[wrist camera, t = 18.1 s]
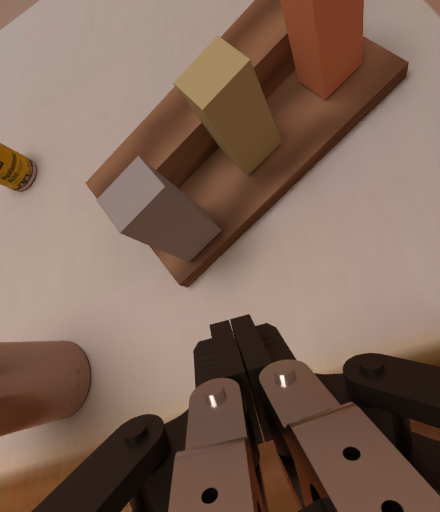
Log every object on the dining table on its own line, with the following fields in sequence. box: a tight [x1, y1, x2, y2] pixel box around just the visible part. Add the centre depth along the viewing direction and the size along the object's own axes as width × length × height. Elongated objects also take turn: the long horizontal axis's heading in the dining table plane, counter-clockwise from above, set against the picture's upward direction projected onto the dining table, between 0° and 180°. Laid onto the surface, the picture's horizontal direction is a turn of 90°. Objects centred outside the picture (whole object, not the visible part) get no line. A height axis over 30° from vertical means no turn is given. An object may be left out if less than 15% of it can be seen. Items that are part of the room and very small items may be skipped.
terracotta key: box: [280, 0, 364, 100], centre depth 30 cm, size 4×5×12 cm
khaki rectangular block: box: [174, 36, 282, 176], centre depth 32 cm, size 4×5×12 cm
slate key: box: [97, 156, 222, 262], centre depth 32 cm, size 4×5×12 cm
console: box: [86, 0, 408, 287], centre depth 37 cm, size 15×32×7 cm, turn 131°
